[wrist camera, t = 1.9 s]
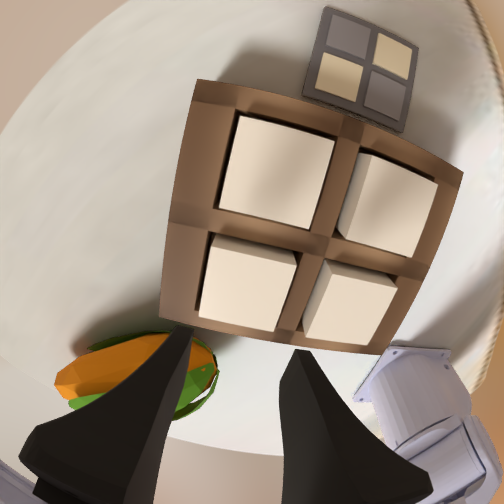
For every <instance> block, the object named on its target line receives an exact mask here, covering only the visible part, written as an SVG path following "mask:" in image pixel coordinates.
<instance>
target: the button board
mask: <svg viewBox="0 0 504 504" xmlns="http://www.w3.org/2000/svg"><path fill="white" fill-rule="evenodd" d="M240 116H243V117H248V118H253V119H257V120H261V121H265V122H269V123H273V124H277V125H281V126H285V127H289V128H292V129H296V130H299V131H303V132H306V133H310V134H313V135H316V136H319V137H322V138H326V139H329V140H332V141H335V142H334V146H333V149H332V153H331V157H330V160H329V164H328V167H327V171H326V174H325V178H324V181H323V184H322V188H321V191H320V195H319V198H318V201H317V205H316V208H315V211H314V214H313V217H312V221H311V224H310V227H309V229H306V228H302V227H298V226H294V225H290V224H286V223H282V222H278V221H274V220H270V219H265V218H261V217H257V216H253V215H248V214H244V213H240V212H236V211H231V210H227V209H222V208H219V205H220V200H221V196H222V191H223V187H224V182H225V178H226V173H227V169H228V164H229V160H230V156H231V152H232V147H233V143H234V139H235V135H236V131H237V127H238V123H239V119H240ZM358 153H363V154H368V155H373V156H376V157H378V158H381V159H383V160H385V161H388V162H390V163H393V164H395V165H397V166H400V167H402V168H404V169H406V170H409V171H411V172H413V173H415V174H417V175H419V176H421V177H424V178H426V179H428V180H430V181H432V182H434V183H436V184H438V187H437V190H436V193H435V196H434V199H433V202H432V205H431V208H430V211H429V214H428V217H427V220H426V223H425V225H424V228H423V231H422V233H421V236H420V238H419V241H418V243H417V246H416V248H415V251H414V253H413V256H412V258H411V257H407V256H404V255H401V254H397V253H394V252H390V251H387V250H383V249H380V248H376V247H373V246H369V245H366V244H362V243H358V242H355V241H351V240H348V239H345V238H344V236H343V235H342V234H341V233H340V232H339V230H338V229H337V228H336V227H335V226H336V223H337V220H338V217H339V214H340V211H341V208H342V205H343V202H344V199H345V196H346V193H347V189H348V186H349V183H350V179H351V176H352V173H353V169H354V166H355V162H356V159H357V155H358ZM463 173H464V172H462V171H461V170H459V169H457V168H456V167H454V166H452V165H451V164H449V163H447V162H446V161H444V160H442V159H440V158H439V157H437V156H435V155H433V154H431V153H429V152H428V151H426V150H424V149H422V148H420V147H418V146H416V145H414V144H412V143H410V142H408V141H406V140H404V139H402V138H400V137H397V136H395V135H393V134H391V133H389V132H386V131H384V130H382V129H380V128H377V127H375V126H372V125H370V124H368V123H365V122H363V121H360V120H357V119H355V118H352V117H350V116H347V115H344V114H341V113H339V112H336V111H333V110H330V109H327V108H324V107H321V106H318V105H315V104H311V103H308V102H305V101H301V100H298V99H294V98H291V97H287V96H283V95H279V94H275V93H271V92H267V91H263V90H259V89H254V88H249V87H244V86H239V85H234V84H228V83H223V82H216V81H210V80H203V79H197V81H196V85H195V89H194V93H193V97H192V101H191V105H190V109H189V113H188V117H187V121H186V126H185V130H184V135H183V140H182V144H181V149H180V154H179V159H178V165H177V170H176V175H175V181H174V187H173V193H172V199H171V206H170V212H169V219H168V227H167V234H166V242H165V251H164V260H163V270H162V280H161V292H160V306H159V317H161V318H165V319H169V320H173V321H177V322H181V323H185V324H189V325H193V326H197V327H201V328H206V329H210V330H215V331H219V332H224V333H229V334H233V335H238V336H243V337H249V338H254V339H259V340H265V341H271V342H276V343H283V344H289V345H295V346H302V347H309V348H316V349H324V350H332V351H341V352H350V353H360V354H371V355H382V354H383V353H384V351H385V350H386V348H387V347H388V345H389V343H390V342H391V340H392V338H393V337H394V335H395V333H396V332H397V330H398V328H399V327H400V325H401V323H402V321H403V320H404V318H405V316H406V314H407V312H408V310H409V309H410V307H411V305H412V303H413V301H414V299H415V297H416V295H417V293H418V291H419V289H420V287H421V285H422V283H423V281H424V279H425V277H426V275H427V273H428V270H429V268H430V266H431V264H432V261H433V259H434V257H435V254H436V252H437V250H438V247H439V245H440V242H441V240H442V237H443V235H444V232H445V229H446V227H447V224H448V221H449V218H450V216H451V213H452V210H453V207H454V204H455V200H456V197H457V194H458V191H459V187H460V184H461V180H462V177H463ZM216 233H218V234H223V235H227V236H232V237H236V238H240V239H245V240H249V241H253V242H258V243H262V244H266V245H271V246H275V247H279V248H284V249H288V250H292V251H293V255H294V258H295V261H296V265H297V267H296V270H295V273H294V276H293V279H292V281H291V284H290V287H289V290H288V293H287V296H286V299H285V301H284V304H283V307H282V310H281V313H280V315H279V318H278V321H277V323H276V326H275V329H274V332H271V331H265V330H260V329H255V328H250V327H245V326H240V325H235V324H230V323H225V322H221V321H216V320H212V319H207V318H203V317H199V310H200V304H201V298H202V292H203V287H204V281H205V276H206V270H207V265H208V260H209V254H210V249H211V245H212V243H213V240H214V238H215V236H216ZM324 258H326V259H330V260H334V261H338V262H343V263H347V264H351V265H355V266H359V267H363V268H367V269H371V270H376V271H380V272H384V273H386V275H387V276H388V277H389V278H390V279H391V281H392V282H393V283H394V284H395V286H396V287H397V288H398V289H397V291H396V293H395V295H394V297H393V299H392V301H391V303H390V305H389V307H388V309H387V311H386V313H385V314H384V316H383V318H382V320H381V322H380V324H379V326H378V327H377V329H376V331H375V333H374V334H373V336H372V338H371V340H370V341H369V343H368V345H359V344H351V343H343V342H335V341H327V340H320V339H313V338H307V337H305V333H304V328H303V323H302V319H301V317H302V315H303V312H304V310H305V307H306V305H307V302H308V300H309V297H310V295H311V292H312V290H313V287H314V285H315V282H316V279H317V277H318V274H319V271H320V269H321V266H322V263H323V261H324Z"/></svg>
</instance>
